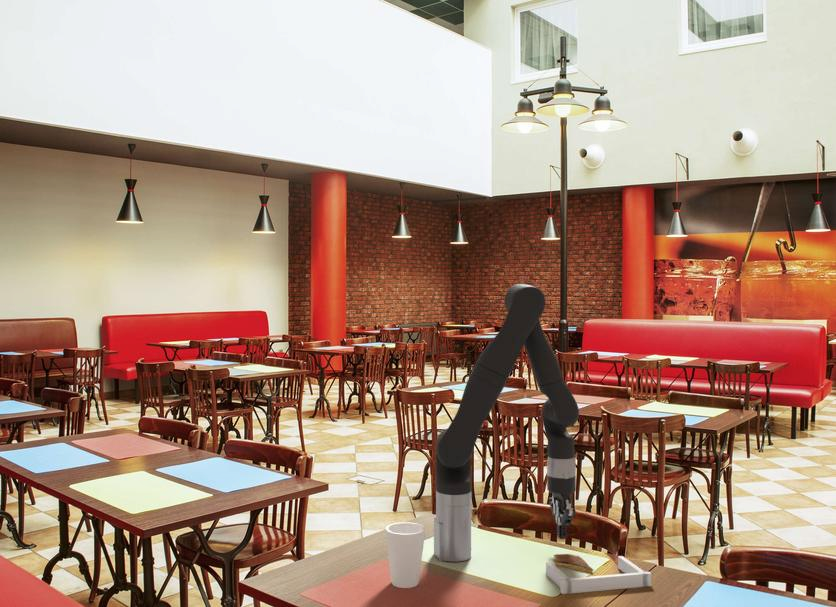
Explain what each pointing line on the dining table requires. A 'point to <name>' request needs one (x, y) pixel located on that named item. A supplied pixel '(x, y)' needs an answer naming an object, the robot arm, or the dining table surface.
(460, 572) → the dining table surface
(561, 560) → the sandwich
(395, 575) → the foam cup
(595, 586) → the box
